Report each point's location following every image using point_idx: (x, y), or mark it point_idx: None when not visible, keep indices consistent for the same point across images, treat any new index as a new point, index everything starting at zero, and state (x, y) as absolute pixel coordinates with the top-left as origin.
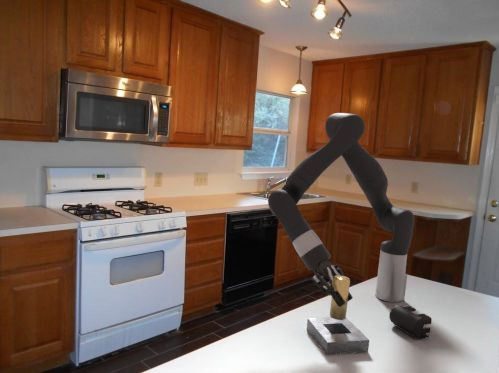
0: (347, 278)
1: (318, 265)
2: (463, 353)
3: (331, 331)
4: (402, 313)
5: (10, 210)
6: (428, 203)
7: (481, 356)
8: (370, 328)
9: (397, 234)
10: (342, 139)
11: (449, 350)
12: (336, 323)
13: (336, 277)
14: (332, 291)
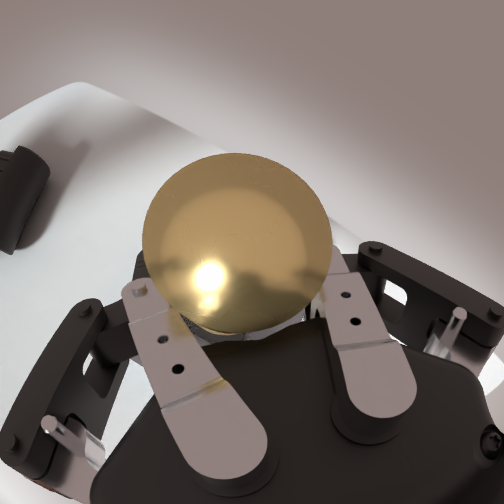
0: (179, 197)
1: (495, 434)
2: (54, 115)
3: (203, 339)
4: (5, 201)
5: None
6: None
7: (50, 101)
8: (64, 285)
9: None
10: None
11: (56, 129)
12: None
13: (277, 286)
14: (348, 256)
